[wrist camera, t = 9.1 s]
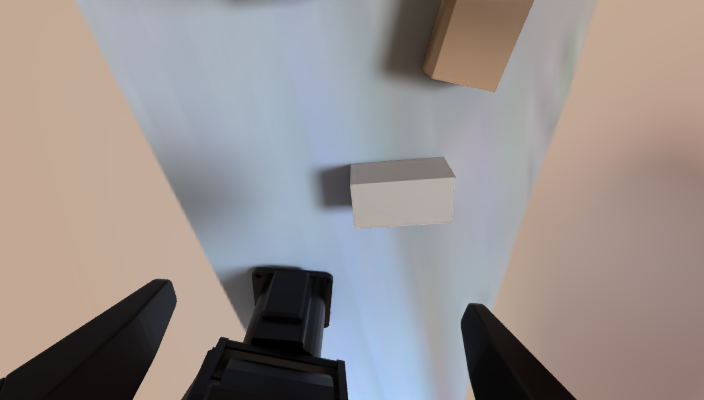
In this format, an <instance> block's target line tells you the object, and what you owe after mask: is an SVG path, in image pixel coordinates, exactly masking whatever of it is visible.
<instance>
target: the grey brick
mask: <svg viewBox="0 0 704 400" xmlns="http://www.w3.org/2000/svg"><path fill="white" fill-rule="evenodd" d="M455 179H456V177H455V175H454V174H453V172H452V170H451V168H450V167H449V165H448V163H447V162H446V160H445V158H444V157H438V158H425V159H411V160H398V161H385V162H371V163H358V164H351V175H350V188H351V198H352V207H353V217H354V227H355V229H363V228H379V227H395V226H411V225H427V224H443V223H451V220H452V210H453V199H454V189H455Z"/></svg>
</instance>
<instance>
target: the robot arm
mask: <svg viewBox="0 0 704 400" xmlns="http://www.w3.org/2000/svg"><path fill="white" fill-rule="evenodd" d="M259 274H260V275H259ZM325 279H328V280H325ZM252 280H253V290H254V299H255V309H254V312H253V315H252V318H251V321H250V324H249V327H248V329H247V332H246V335H245V338H244V341H243V343H242V342H237V341H232V340H229V338H224V337H221V338H220V339H219V341H218V343H217V345H216V347H213V348H212V350H209V351H208V352H207V355H206V357H205V359H204V362H203V364H202V366H201V368H200V371H199V372H198V374H197V376H196V378H195V379H194V381H193V383H192V384H191V386H190V387H189V389H188V390H187V392H186V393H185V395H184V396H183V398H182V399H181V400H348V392H347V381H346V371H345V361H342V360H336V361H335V360H330V359H325V358H321V348H322V339H323V329H324V328H326V327H328V326H329V320H330V308H331V297H332V285H333V276H332V275H331V274H328V273H317V272H304V271H291V270H279V269H266V268H256V269H254V271H253V273H252ZM176 302H177V300H176V295H175V291H174V288H173V285H172V282H171V281H170V280H168V279H155V280H152V281H151V282H150V283H148V284H146V285H145V286H143V287H142V288H140V289H139V290H137V291H135V292H134V293H133V294H131V295H129V296H128V297H126V298H125V299H124V300H122V301H120V302H119V303H117V304H116V305H114V306H113V307H111V308H109V309H108V310H106V311H105V312H103V313H102V314H100V315H99V316H97V317H95V318H94V319H92V320H91V321H90V322H88V323H86V324H85V325H83V326H82V327H80V328H79V329H77V330H76V331H74V332H72V333H71V334H69V335H68V336H66V337H65V338H63V339H62V340H60V341H59V342H57V343H56V344H54V345H52V346H51V347H49V348H48V349H46V350H45V351H43V352H42V353H40V354H39V355H37V356H36V357H34V358H32V359H31V360H30V361H28V362H26V363H25V364H23V365H22V366H20V367H19V368H17V369H16V370H14V371H12V372H11V373H10V374H8V375H7V376H6V378H2V379H0V400H133V398H134V396H135V394H136V392H137V390H138V388H139V386H140V384H141V383H142V381H143V379H144V377H145V375H146V373H147V371H148V369H149V367H150V366H151V364H152V362H153V359H154V357H155V355H156V353H157V351H158V348H159V346H160V343H161V341H162V338H163V336H164V333H165V331H166V329H167V326H168V323H169V321H170V318H171V316H172V314H173V311H174V309H175V306H176ZM461 331H462V337H463V343H464V349H465V355H466V361H467V367H468V372H469V378H470V382H471V386H472V389H473V393H474V397H475V400H576V398H575V397H574V396H573V395H572V394H571V393H570V392H569V391H568V390H567V389H566V388H565V387H564V386H563V385H562V384H561V383H560V382H559V381H558V380H557V379H556V378H555V377H554V376H553V375H552V374H551V373H550V372H549V371H548V370H547V369H546V368H545V367H544V366H543V365H542V364H541V363H540V362H539V361H538V360H537V359H536V358H535V357H534V355H533V354H532V353H531V352H529V350H528V349H527V348H526V347H525V346H524V345H523V344H522V343H521V342H520V341H519V340H518V339H517V338H516V337H515V336H514V335H513V334H512V333H511V332H510V331H509V330H508V329H507V328H506V327H505V326H504V325H503V324H502V323H501V322H500V321H499V320H498V319H497V318H496V317H495V316H494V315H493V314H492V313H491V312H490V311H489V309H488V308H487V307H486V306H484V305H483V304H478V303H470V304H468V306H467V308H466V310H465V312H464V315H463V317H462V319H461Z"/></svg>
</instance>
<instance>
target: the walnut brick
mask: <svg viewBox="0 0 704 400" xmlns="http://www.w3.org/2000/svg"><path fill="white" fill-rule="evenodd" d="M533 2H534V0H442V1H441V4H440V7H439V11H438V14H437V17H436V21H435V24H434V28H433V31H432V34H431V38H430V41H429V45H428V48H427V51H426V55H425V58H424V61H423V65H422V68H421V69H422V70H423V71H424V72H425V73H426V74H427V75H429V76H430V77H431V78H432V79H436V80H441V81H445V82H450V83H455V84H459V85H464V86H468V87H473V88H478V89H482V90H487V91H491V92H495V91H496V88H497V86H498V84H499V81H500V79H501V77H502V74H503V72H504V70H505V67H506V65H507V63H508V60H509V58H510V56H511V53H512V51H513V49H514V46H515V44H516V42H517V39H518V37H519V35H520V32H521V30H522V28H523V25H524V23H525V21H526V18H527V16H528V14H529V11H530V9H531V6H532V4H533Z"/></svg>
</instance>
